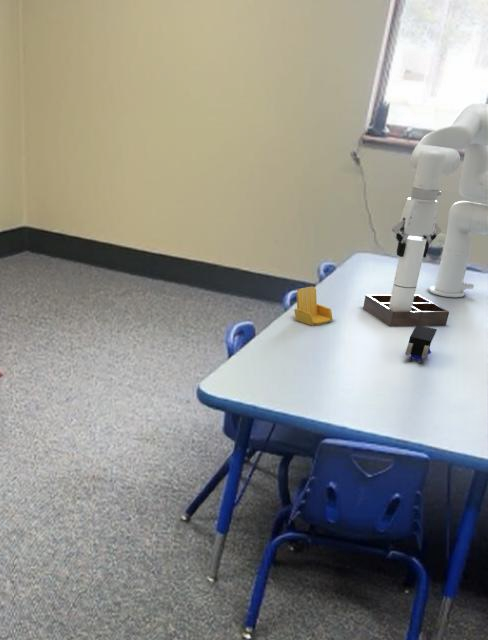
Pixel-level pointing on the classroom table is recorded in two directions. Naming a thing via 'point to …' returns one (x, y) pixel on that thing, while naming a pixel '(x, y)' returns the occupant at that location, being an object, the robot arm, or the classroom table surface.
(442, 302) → the classroom table surface
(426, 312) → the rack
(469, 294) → the classroom table surface
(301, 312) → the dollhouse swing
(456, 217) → the robot arm
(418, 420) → the classroom table surface
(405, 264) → the cylindrical container
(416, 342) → the figurine character
